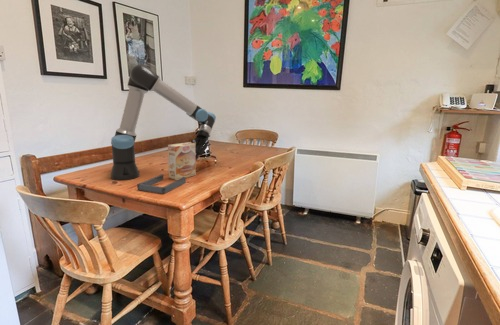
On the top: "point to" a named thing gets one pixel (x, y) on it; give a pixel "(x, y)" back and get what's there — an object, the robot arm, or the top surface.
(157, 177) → the dock
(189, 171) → the coffeecake box
